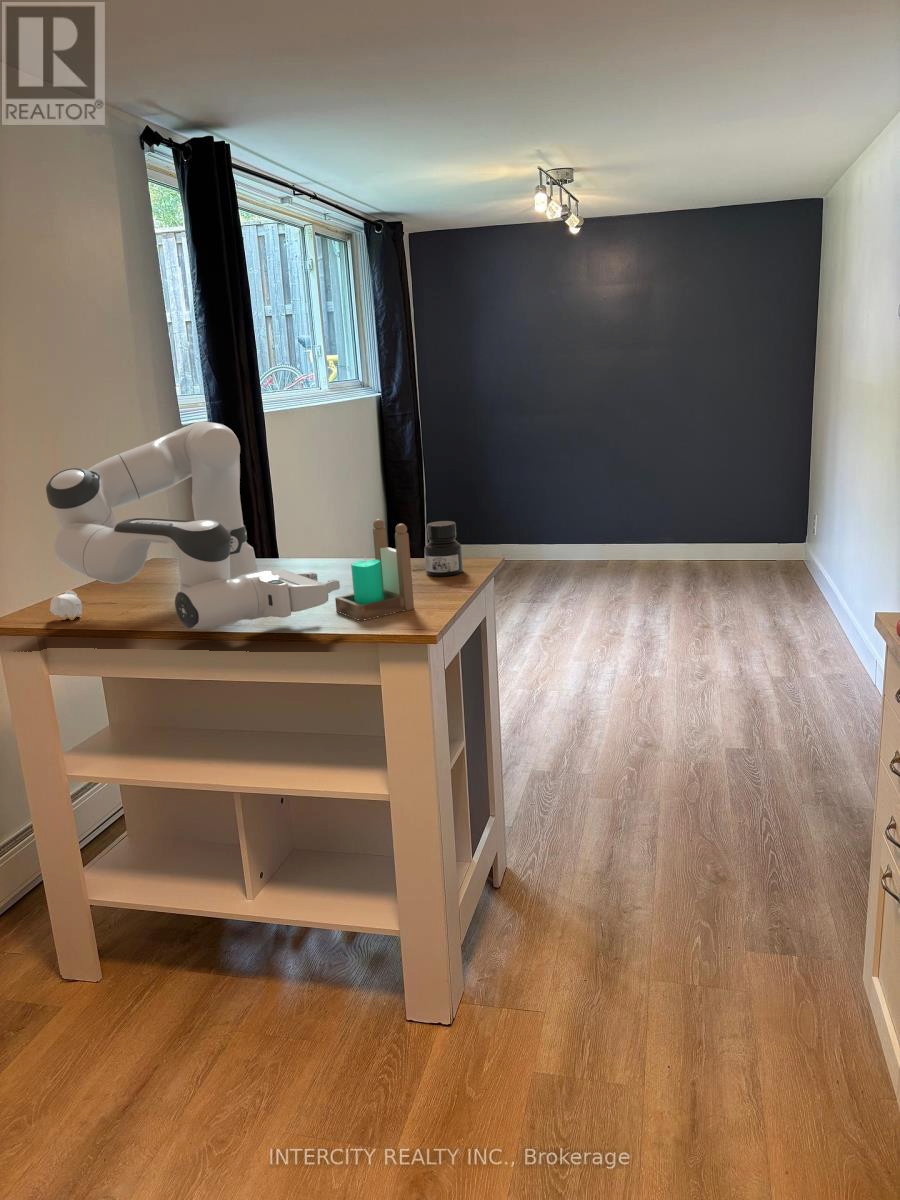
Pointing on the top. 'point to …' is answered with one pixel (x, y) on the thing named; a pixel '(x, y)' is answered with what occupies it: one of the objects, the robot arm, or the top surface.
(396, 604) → the shallow open wooden box
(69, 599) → the elephant figurine
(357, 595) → the candle
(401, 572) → the headboard
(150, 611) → the top surface
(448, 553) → the ink bottle
